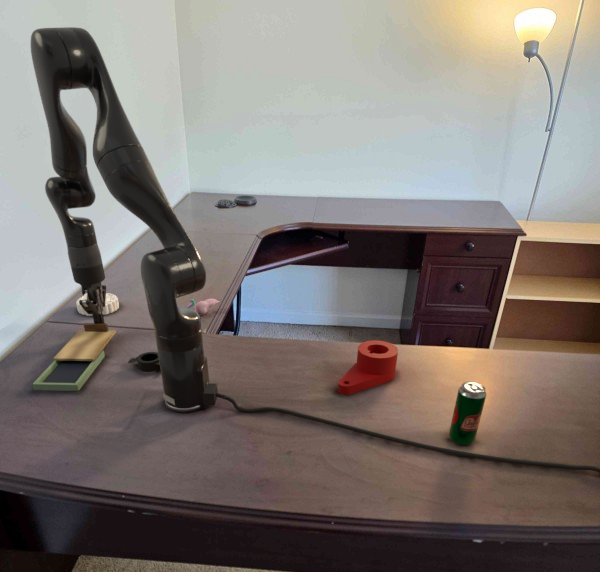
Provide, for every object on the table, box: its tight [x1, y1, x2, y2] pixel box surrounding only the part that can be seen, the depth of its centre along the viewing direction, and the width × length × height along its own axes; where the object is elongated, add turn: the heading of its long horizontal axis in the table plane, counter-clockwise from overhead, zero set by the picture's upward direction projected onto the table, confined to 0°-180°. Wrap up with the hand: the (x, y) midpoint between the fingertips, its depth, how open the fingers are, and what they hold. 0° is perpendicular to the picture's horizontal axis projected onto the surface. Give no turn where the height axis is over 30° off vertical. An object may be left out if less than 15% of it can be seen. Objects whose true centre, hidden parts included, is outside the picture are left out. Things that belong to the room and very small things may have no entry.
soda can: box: [448, 381, 487, 446], centre depth 95 cm, size 5×5×12 cm
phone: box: [44, 361, 92, 383], centre depth 118 cm, size 7×15×1 cm, turn 179°
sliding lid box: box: [32, 349, 106, 392], centre depth 118 cm, size 10×17×2 cm, turn 179°
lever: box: [337, 339, 399, 396], centre depth 116 cm, size 18×9×7 cm, turn 136°
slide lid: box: [53, 322, 117, 361], centre depth 126 cm, size 10×17×3 cm, turn 179°
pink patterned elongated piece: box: [186, 298, 221, 316], centre depth 148 cm, size 6×6×15 cm
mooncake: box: [75, 292, 120, 317], centre depth 152 cm, size 12×12×4 cm
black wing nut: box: [127, 351, 161, 373], centre depth 121 cm, size 8×10×3 cm
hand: (100, 325), depth 134 cm, fingers closed
